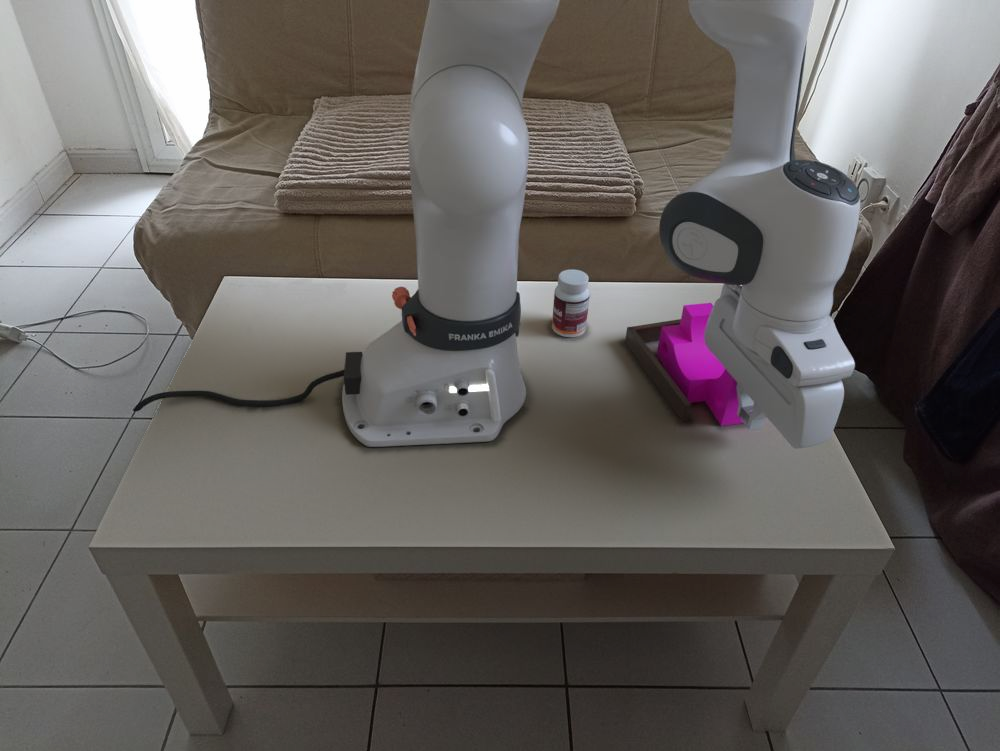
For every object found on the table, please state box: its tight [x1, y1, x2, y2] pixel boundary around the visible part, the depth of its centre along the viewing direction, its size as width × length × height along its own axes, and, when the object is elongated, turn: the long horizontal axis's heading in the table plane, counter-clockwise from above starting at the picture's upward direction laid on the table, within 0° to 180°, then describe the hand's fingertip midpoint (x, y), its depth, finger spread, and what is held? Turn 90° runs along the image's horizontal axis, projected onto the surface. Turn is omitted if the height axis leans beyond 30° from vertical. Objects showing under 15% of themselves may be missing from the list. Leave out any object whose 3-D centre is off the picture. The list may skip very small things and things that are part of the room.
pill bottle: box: [551, 268, 591, 338], centre depth 102 cm, size 5×5×8 cm
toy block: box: [656, 302, 744, 427], centre depth 93 cm, size 15×6×8 cm, turn 11°
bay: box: [624, 318, 692, 422], centre depth 97 cm, size 11×17×2 cm
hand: (748, 422), depth 86 cm, fingers closed
